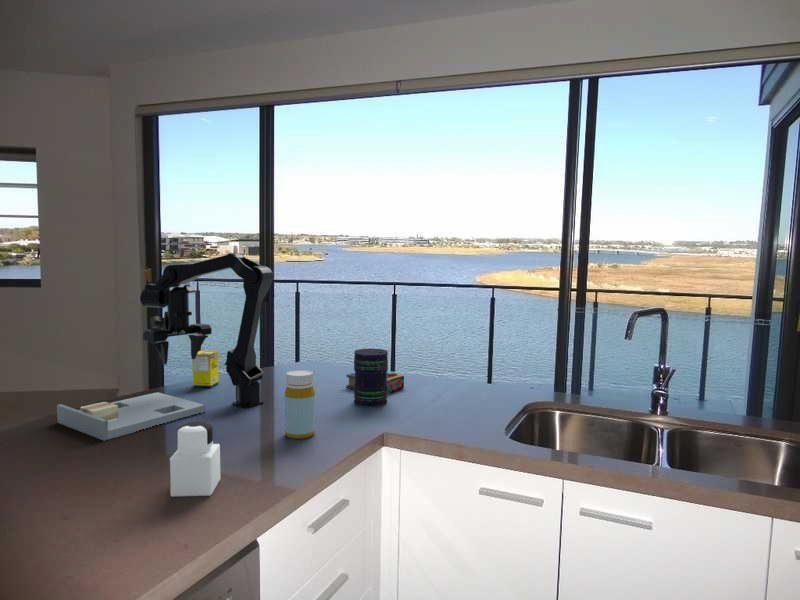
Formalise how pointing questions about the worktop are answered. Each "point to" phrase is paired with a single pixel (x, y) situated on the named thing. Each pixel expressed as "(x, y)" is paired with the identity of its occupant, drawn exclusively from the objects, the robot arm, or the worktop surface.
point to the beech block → (102, 410)
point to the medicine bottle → (195, 461)
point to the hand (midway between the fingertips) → (179, 361)
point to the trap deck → (130, 415)
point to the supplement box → (205, 369)
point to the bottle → (299, 404)
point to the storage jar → (370, 377)
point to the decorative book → (393, 382)
